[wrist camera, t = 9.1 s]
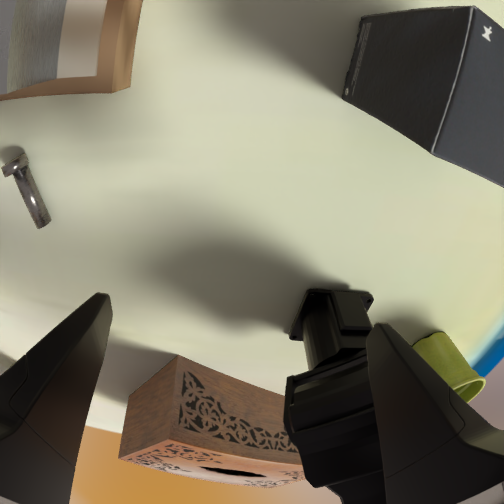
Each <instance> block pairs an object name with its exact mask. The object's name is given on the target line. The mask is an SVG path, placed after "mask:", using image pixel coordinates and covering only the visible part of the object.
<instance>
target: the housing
mask: <svg viewBox="0 0 504 504" xmlns="http://www.w3.org/2000/svg"><path fill="white" fill-rule="evenodd" d="M66 3H67V0H0V95H1V94H7V93H10V92H13V91H16V90H19V89H22V88H25V87H29V86H32V85H35V84H39V83H43V82H46V81H50V80H54V79H57V68H58V57H59V47H60V39H61V32H62V25H63V19H64V13H65V8H66Z"/></svg>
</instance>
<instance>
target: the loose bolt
mask: <svg viewBox="0 0 504 504" xmlns="http://www.w3.org/2000/svg"><path fill="white" fill-rule="evenodd" d="M28 163H29V162H28V159H27V157H26V154H25V153H24V154H22V155H20V156H18V157H16V158H15V159H13V160H11V161H10V162H8V163H7V164H5V165H4V166H2V167H1V169H2V171H3V174H4V176H5V177H8V176H10V175H11V174H13V176H14V178H15V181H16V183H17V186H18V188H19V190H20V193H21V195H22V197H23V199H24V202H25V204H26V206H27V208H28V210H29V212H30V215H31V217H32V219H33V221H34V223H35V225H36V227H37V229H40V228H42V227H44V226H46V225H47V224H48V223H49V222H50V221H51V218H50V216H49V214H48V211H47V209H46V207H45V205H44V203H43V200H42V198H41V196H40V194H39V191H38V189H37V187H36V184H35V182H34V179H33V177H32V174H31V172H30V169H29V167H28Z"/></svg>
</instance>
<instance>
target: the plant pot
mask: <svg viewBox="0 0 504 504" xmlns="http://www.w3.org/2000/svg"><path fill="white" fill-rule="evenodd" d="M412 348H413V349H414V350H415V351H416V352H417V353H418V354H419V355H420V356H421V357H422V358H423V359H424V360H425V361H426V362H427V363H428V364H429V365H430V366H431V367H432V368H433V369H434V370H435V371H436V372H437V373H438V374H439V375H440V376H441V377H442V378H443V379H444V380H445V381H446V382H447V384H448V385H449V386H450V387H451V388H452V389H453V390H454V391H455V392H456V393H457V394H458V395H459V396H460V397H461V398H462V399H463V400H464V401H465V402H466V403H468V402H469V401H471V400H472V399H473V398H474V397H475V396H476V395H477V394H478V393H480V391H481V390H482V389H483V387H484V386H485V383H486V380H485V378H484V377H480V376H479V375H478V374H477V372H476V371H474V370H472V368H471V367H470V366H469V364H468V363H467V361H466V360H465V358H464V357H463V356H462V354H461V353H460V352H459V350H458V349H457V347H456V346H455V345H454V343H453V342H452V340H451V339H450V338H449V337H448V335H447V334H446V333H443V332H438V333H434V334H432V335H431V336H430V337H428V338H424V339H421V340H420V341H418V342H417V343H416V344H415V345H414V346H413V347H412Z"/></svg>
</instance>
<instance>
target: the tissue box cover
mask: <svg viewBox="0 0 504 504" xmlns="http://www.w3.org/2000/svg"><path fill="white" fill-rule="evenodd" d="M284 402H285V396H283V395H280V394H277V393H274V392H271V391H268V390H265V389H263V388H260V387H257V386H254V385H251V384H249V383H246V382H243V381H241V380H238V379H235V378H233V377H230V376H228V375H225V374H223V373H220V372H218V371H215V370H213V369H210V368H208V367H206V366H203V365H201V364H199V363H196V362H194V361H192V360H189V359H187V358H185V357H183V356H180V355H178V356H177V357H175V358H174V359H173V360H172V361H171V362H170V363H168V364H167V365H166V366H165V367H164V368H162V369H161V370H160V371H159V372H158V373H157V374H155V375H154V376H153V377H152V378H151V379H149V380H148V381H147V382H146V383H145V384H143V385H142V386H141V387H140V388H139V389H137V390H136V391H135V392H134V393H133V394H131V395H130V396H129V400H128V405H127V410H126V415H125V421H124V426H123V432H122V438H121V444H120V451H119V457H118V458H119V459H121V460H124V461H127V462H131V463H134V464H138V465H141V466H144V467H148V468H152V469H155V470H159V471H164V472H168V473H172V474H176V475H181V476H186V477H191V478H196V479H201V480H207V481H213V482H220V483H227V484H235V485H243V486H252V487H264V488H272V487H277V486H281V485H285V484H289V483H293V482H297V481H301V480H304V479H306V478H305V475H304V471H303V466H302V462H301V458H300V454H299V452H298V449H297V447H295V446H294V445H293V444H292V442H291V440H290V439H289V436H288V434H287V433H286V432H285V430H284V423H283V414H284Z"/></svg>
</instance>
